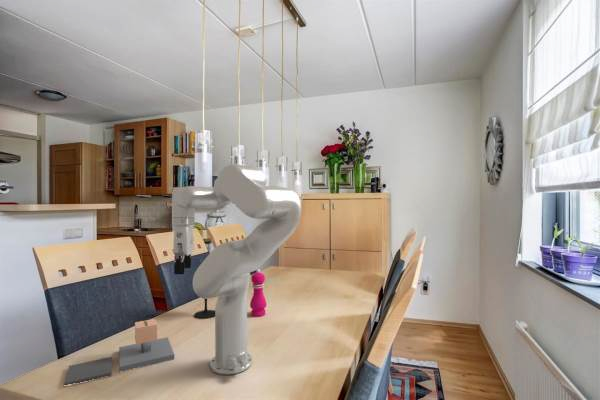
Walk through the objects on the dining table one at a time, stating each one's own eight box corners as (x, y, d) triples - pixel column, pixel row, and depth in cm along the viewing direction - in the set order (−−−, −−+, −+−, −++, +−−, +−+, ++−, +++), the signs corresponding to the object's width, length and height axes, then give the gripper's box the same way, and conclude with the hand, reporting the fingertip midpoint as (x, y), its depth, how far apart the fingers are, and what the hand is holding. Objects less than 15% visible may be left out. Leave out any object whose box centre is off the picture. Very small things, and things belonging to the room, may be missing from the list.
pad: (111, 375, 90) (111, 372, 90) (63, 387, 84) (63, 383, 84) (111, 359, 99) (111, 356, 99) (69, 369, 94) (69, 365, 94)
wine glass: (209, 309, 146) (208, 266, 147) (222, 314, 140) (222, 269, 140) (188, 315, 138) (188, 270, 139) (202, 320, 132) (202, 273, 132)
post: (151, 351, 101) (151, 326, 101) (141, 353, 100) (141, 328, 100) (150, 347, 104) (150, 323, 104) (140, 349, 102) (140, 325, 102)
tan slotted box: (157, 340, 101) (157, 324, 101) (136, 344, 98) (136, 328, 98) (155, 333, 106) (155, 318, 106) (135, 337, 103) (135, 322, 103)
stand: (174, 359, 99) (174, 354, 99) (119, 372, 92) (119, 367, 92) (167, 341, 112) (167, 337, 112) (119, 351, 104) (119, 347, 105)
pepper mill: (263, 317, 135) (263, 271, 135) (247, 316, 136) (247, 270, 136) (268, 312, 142) (268, 267, 142) (253, 311, 143) (253, 267, 143)
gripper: (188, 224, 102) (188, 276, 102) (199, 220, 120) (199, 265, 120) (164, 224, 102) (164, 277, 102) (179, 220, 119) (178, 266, 119)
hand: (183, 270), depth 111 cm, fingers open, 9 cm apart
